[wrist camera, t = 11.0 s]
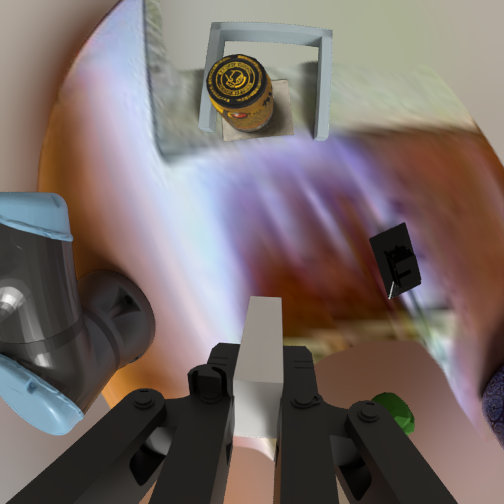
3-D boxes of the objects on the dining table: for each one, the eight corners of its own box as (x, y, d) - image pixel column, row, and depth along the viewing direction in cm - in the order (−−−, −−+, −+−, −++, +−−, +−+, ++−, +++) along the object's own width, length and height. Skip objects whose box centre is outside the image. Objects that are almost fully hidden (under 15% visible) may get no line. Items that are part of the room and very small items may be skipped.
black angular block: (359, 229, 36) (369, 237, 32) (406, 208, 35) (421, 213, 31) (384, 309, 39) (395, 324, 34) (427, 288, 38) (441, 301, 33)
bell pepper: (350, 402, 43) (361, 446, 33) (393, 377, 41) (413, 418, 31) (368, 426, 44) (380, 466, 34) (408, 403, 42) (426, 441, 33)
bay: (205, 132, 34) (198, 127, 31) (217, 34, 31) (211, 22, 27) (323, 141, 34) (328, 137, 30) (328, 41, 30) (332, 29, 27)
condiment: (219, 87, 33) (194, 51, 21) (287, 80, 32) (291, 39, 20) (224, 141, 35) (199, 125, 23) (293, 135, 34) (302, 115, 22)
